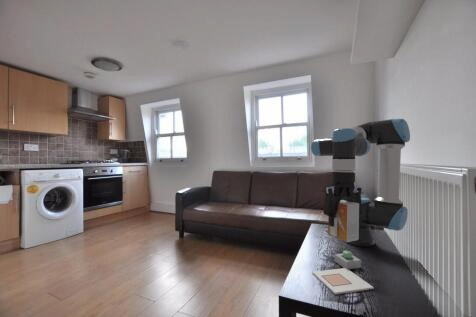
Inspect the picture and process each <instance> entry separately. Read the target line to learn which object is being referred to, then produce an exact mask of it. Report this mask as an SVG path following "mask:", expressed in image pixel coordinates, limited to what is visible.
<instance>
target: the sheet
mask: <svg viewBox="0 0 476 317" xmlns="http://www.w3.org/2000/svg"><path fill="white" fill-rule="evenodd" d="M312 274H313V276H314V277H315V278H316V279H318V280H319V281H320V283H322V284H323V285H324V286H325V287H326V288H327V289H328V290H329V291H330V292H331V293H333V295H342V294H347V293H356V292H361V291H369V289H370V290H375V288H374V286H373V285H371V284H369V283H368V282H367V281H365V279H363V278H361V277H359V275H357V274H355V273H354V272H353V271H351V269H347V268H343V267H342V268H334V269H325V270H316V271H312Z"/></svg>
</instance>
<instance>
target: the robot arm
mask: <svg viewBox="0 0 476 317" xmlns="http://www.w3.org/2000/svg"><path fill="white" fill-rule="evenodd" d="M410 139H411V132H410V128H409V124H408V122H407V121H406V119H404V118H392V119H383V120H375V121H369V122H365V123H362V124H359V125H356V126H354V127H351V128H350V127H346V128H345V127H344V128H336V129H334V130H333V131H332V136H329V137H326V138H319V139H314V140H313V141H312V142H311V144H310V149H311V150H310V151H311V153H312V154H313V156H316V157H328V156H329V157H332V165H331V168H332V173H331V181H332V184H331V185H332V186H330V187H325V188H324V191H325V197H324V206H323V215H325V216H327V217H329V226H330V234H331V235H333V236H335V237H336V236H337V218H336V217H335V215H336V212H337V209H338V203H340V200H343V198H345V201H349V202H354V203H359V240H356V241H351V242H346V243H347V244H349V245H352V246H357V247H366V248H367V247H372V246H374V245H375V239H374V236H373V233H372V231H371V226H374V227H379V228H382V229H387V230H390V231H399V232H400V231H401V230H403V229H404V228H405V225H406V224H407V219H408V215H409V213H408V208H407V207H406V206H404V202H403V201H402V200H401V199H400V185H401V184H400V182H401V181H400V179H401V155H402V154H401V153H402V152H401V151H402V150H403V148H405V146H406V143H409V142H410ZM371 144H376V145H375V146H376V147H377V149H378V150H379V161H378V164H379V165H378V181H377V182H378V184H377V186H378V187H377V197H376V198H374V199H373V201H372V200H371V199H370V198H368V197H362V195H361V194H362V187H359V186H355V184H354V183H356V172H355V171H356V157H362V156H365V155H367V154H368V153H369V152H370V150H371ZM331 235H330V236H331ZM333 236H332V237H333ZM335 237H334V238H335Z"/></svg>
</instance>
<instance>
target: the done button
mask: <svg viewBox="0 0 476 317" xmlns="http://www.w3.org/2000/svg"><path fill="white" fill-rule="evenodd" d="M342 253H343V258H345V259H348V260H349V259H352V255H353V253H352V252H351V251H349V250H343V251H342Z"/></svg>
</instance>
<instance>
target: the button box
mask: <svg viewBox="0 0 476 317" xmlns="http://www.w3.org/2000/svg"><path fill="white" fill-rule="evenodd" d="M333 260H334V261H333V262H335V263H336V264H338V265H339V266H341V267H342V268H347V269H348V270H351V269H352V270H354V269H361V268H362V260H361V259H359V258H358V257H356V256H355V255H353V254H352V259H349V260H348V259H345V258H343V252H342V253H335V254H334V259H333ZM360 267H361V268H360Z"/></svg>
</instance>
